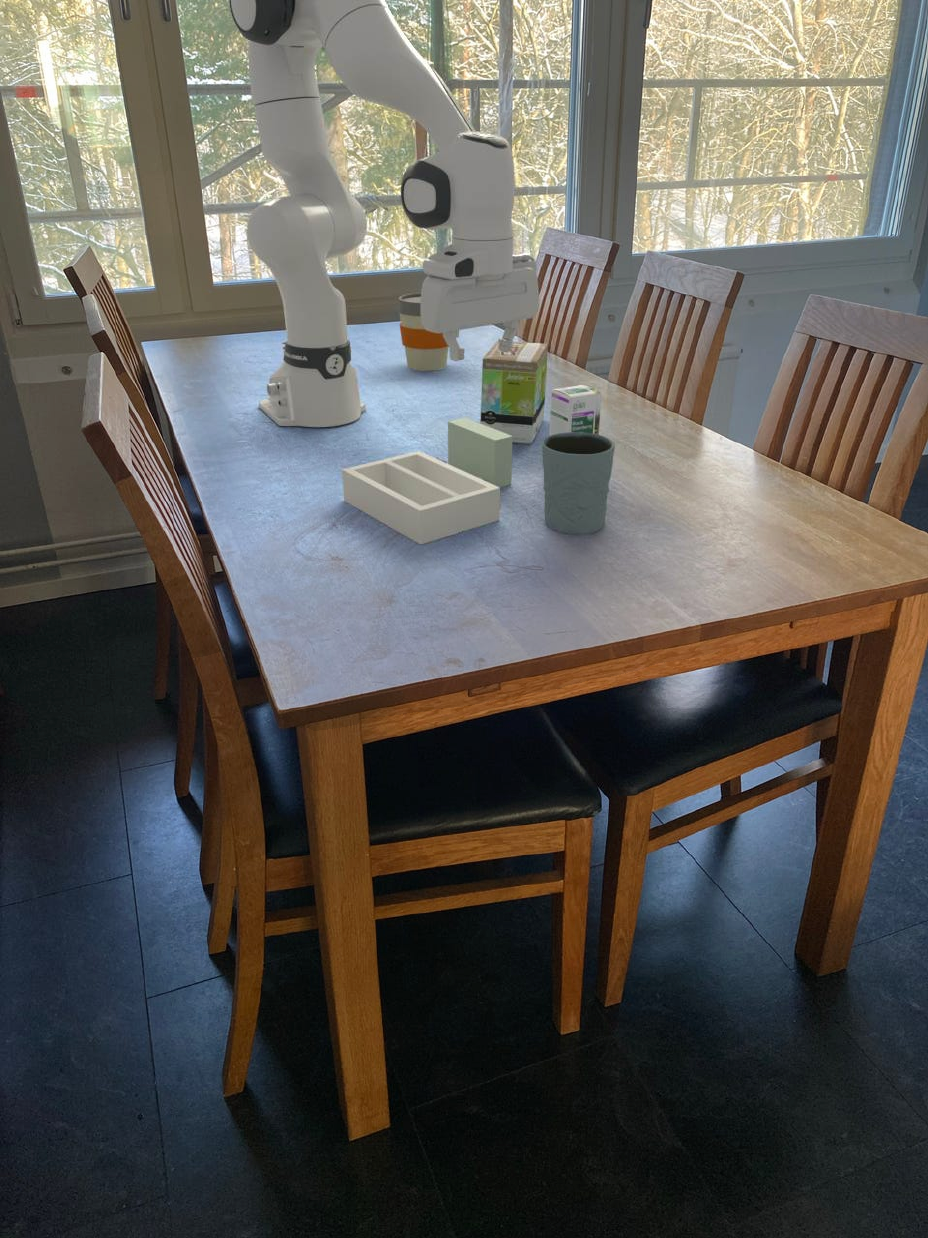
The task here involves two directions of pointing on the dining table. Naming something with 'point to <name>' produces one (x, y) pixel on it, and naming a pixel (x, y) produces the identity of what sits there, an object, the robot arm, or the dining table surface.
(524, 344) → the tea box
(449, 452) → the long pale green block
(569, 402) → the syrup box
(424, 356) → the reusable coffee cup
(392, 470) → the divided cream tray
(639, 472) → the dining table surface
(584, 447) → the gray green embossed cup
